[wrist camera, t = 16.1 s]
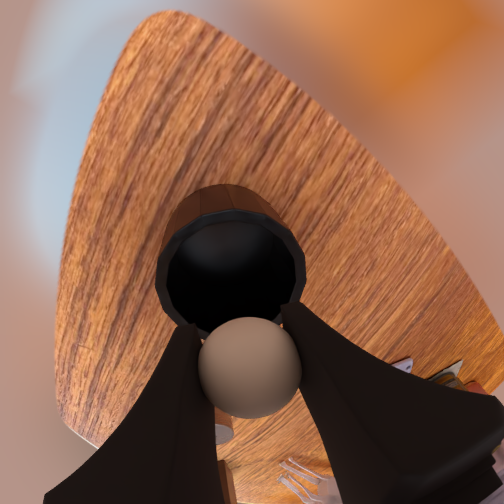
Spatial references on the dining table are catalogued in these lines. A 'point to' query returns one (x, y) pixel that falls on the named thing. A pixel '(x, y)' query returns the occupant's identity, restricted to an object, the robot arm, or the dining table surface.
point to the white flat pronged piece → (328, 492)
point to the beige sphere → (249, 367)
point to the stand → (227, 483)
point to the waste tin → (227, 260)
